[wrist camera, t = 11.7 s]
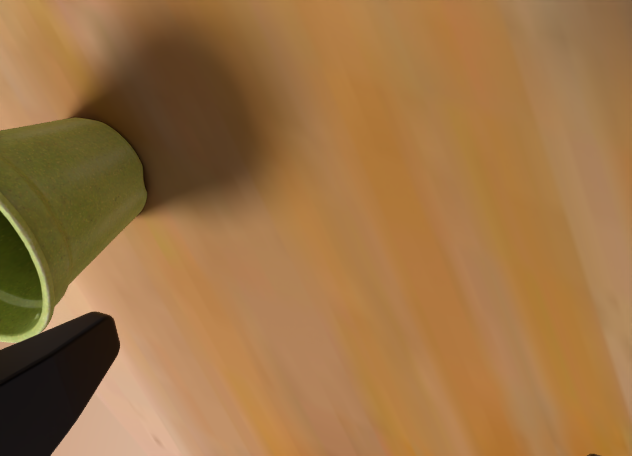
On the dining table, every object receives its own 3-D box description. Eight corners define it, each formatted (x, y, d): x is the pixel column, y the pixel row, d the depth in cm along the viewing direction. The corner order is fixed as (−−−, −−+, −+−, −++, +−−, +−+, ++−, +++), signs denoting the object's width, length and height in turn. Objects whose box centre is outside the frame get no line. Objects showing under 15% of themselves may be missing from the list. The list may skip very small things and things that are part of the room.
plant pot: (8, 157, 27) (-164, 228, 20) (66, 40, 22) (-138, 78, 15) (127, 268, 28) (7, 371, 21) (207, 183, 23) (84, 280, 16)
